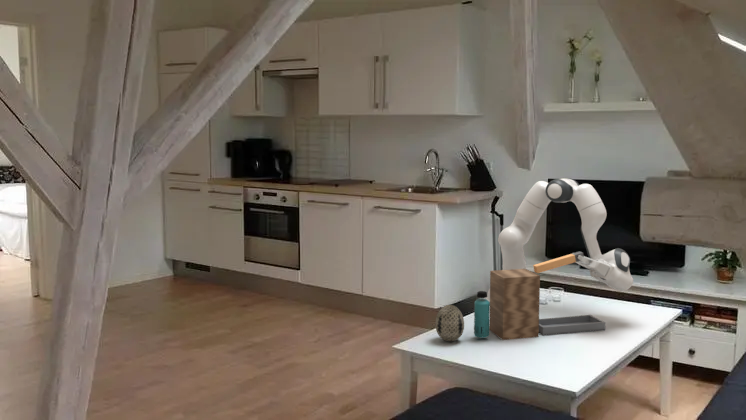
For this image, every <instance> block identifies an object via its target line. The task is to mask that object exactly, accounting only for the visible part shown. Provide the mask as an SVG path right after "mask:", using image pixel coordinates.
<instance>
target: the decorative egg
mask: <svg viewBox="0 0 746 420" xmlns="http://www.w3.org/2000/svg"><path fill="white" fill-rule="evenodd" d="M462 313H463V312H462V311H461V310H460V309H459V307H457V306H455V305H454V304H448V305H444V306H443V307H441V309H440V310H439V311H438V313H437V314H436V318H435V329H436V333H437V335H438V336H439V338H441V339H442V340H443V341H446V342H454V341H456V340H458V339H460V338H461V337H462V335H463V333H464V330H465V320H464V316H463V314H462Z"/></svg>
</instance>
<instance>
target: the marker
mask: <svg viewBox="0 0 746 420" xmlns="http://www.w3.org/2000/svg"><path fill="white" fill-rule="evenodd" d="M578 255H581V256H583V257H584V256H585V255H584V252H582V251H576V252H572V253H570V254H566V255H563V256H560V257H556V258H553V259H550V260H546V261H543V262H539V263H536V264H533V265H532V266H533V273H535V274H540V273H543V272H546V271H549V270H553V269H556V268H560V267H563V266H567V265H570V264H571V265H572V264H573V263H576V262H577V261H581V260H579V259H577V256H578Z"/></svg>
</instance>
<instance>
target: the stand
mask: <svg viewBox="0 0 746 420" xmlns="http://www.w3.org/2000/svg"><path fill="white" fill-rule="evenodd" d="M489 273H490V274H489V277H490V278H489V289H490V304H489V320H490V321H489V332H491V333H493V334H494V335H496V337H498V338H499V339H500V340H502V341H504V340H505V341H506V340H517V339H528V338H539V337H540V336H539V334H540V333H539V319H540V296H541V295H540V292H541V291H540V290H541V275H539V274H538V273H536V272H534V271H533V272H532V271H531V270H529V269H527V268H526V269H511V270H503V269H499V270H498V269H497V270H495V269H494V270H490V271H489Z"/></svg>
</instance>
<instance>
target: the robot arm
mask: <svg viewBox="0 0 746 420" xmlns="http://www.w3.org/2000/svg"><path fill="white" fill-rule="evenodd" d="M551 202H553V203H559V204H560V203H563V204H564V203H567V202H572V203H573V204H574V205H575V206H576V209H577V211H578V213H579V217H580V219H581V225H580V232H581V238H582V240H583V244H584V246H585V249H586V253H587V256H588V257H587V256H585V255H584V257H583V256H581V255H578V256H577V259H579V260H581V261H577V262H575V263H576V264H578V265H579V266H582V267H583V268H585V269H588V271H589V274H590V276H591V278H593V279H595V280H597V281H598V282H601V283H604V284H605V285H607V287H608V288H611V289H614V290H616V291H619V292H626V291H627V290H629V289H630V288H631V287H632V286H633V283H634V278H633V276H632V274H631V272H630V263H631V257H630V256H629V254H628V253H627V252H626V250H624V249H622V248H619V247H617V248H615V249H612V250H609V251H608V252H606V253H603V254H602V252H601V248H600V245H599V242H598V240H597V235H598V231H599V230H600V228H601V227H602V226H603V224H604V223H605V221H606V219H607V214H608V213H607V209H606V207H605V205H604V202H603V200H602V199H601V197H600V195H599V193H598V192H597V190H596V188H594V187H593V185H591V184H589V183H582V184H579V182H578V181H576V180H575V179H573V178H566V177H565V178H564V177H563V178H557V179H556V178H555V179H553V180H550V182H547V181H545V180H539V181H536V182H535V183H534V184H533V186H532V187H531V188H530V189H529V190H528V192H527V193H526V195H525V196H524V198H523V200H522V202H521V203H520V205H519V207H518V208H517V210H516V213H515V216H514V218H513V220H512V223H511V224H510V225H509V226H507V227H505V228H503V229H502V231H501V230H500V231H501V232H500V233H499V234H498V238H497V242H498V244H499V246H500V252H501V257H502V270H511V269H527V268H526V267H527V266H526V265H527V260H526V256H525V253H524V246H525V245H526V244H527V243H528V242H529V240H530V239H531V237H532V235H533V233H534V231H535V229H536V226H537V224H538V222H539V221H540V219H541V217H542V215H543V214H544V212H545V211H546V209H547V208H548V206H549V204H550V203H551ZM482 299H487V300H488V301H489V302H490V288H489V289H488V292H487V298H482Z"/></svg>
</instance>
